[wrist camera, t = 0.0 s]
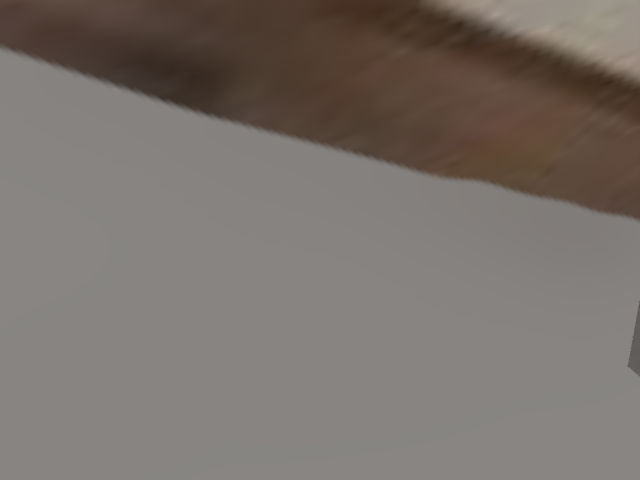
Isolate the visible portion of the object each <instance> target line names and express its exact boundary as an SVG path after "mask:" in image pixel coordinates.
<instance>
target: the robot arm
mask: <svg viewBox="0 0 640 480" xmlns="http://www.w3.org/2000/svg"><path fill="white" fill-rule="evenodd" d="M628 367H629V368H631V369H632V370H633V371H634V372H635V373H636V374H638V376H640V302H639V308H638V313H637V319H636V324H635V329H634V335H633V340H632V346H631V351H630V357H629V363H628Z"/></svg>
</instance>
